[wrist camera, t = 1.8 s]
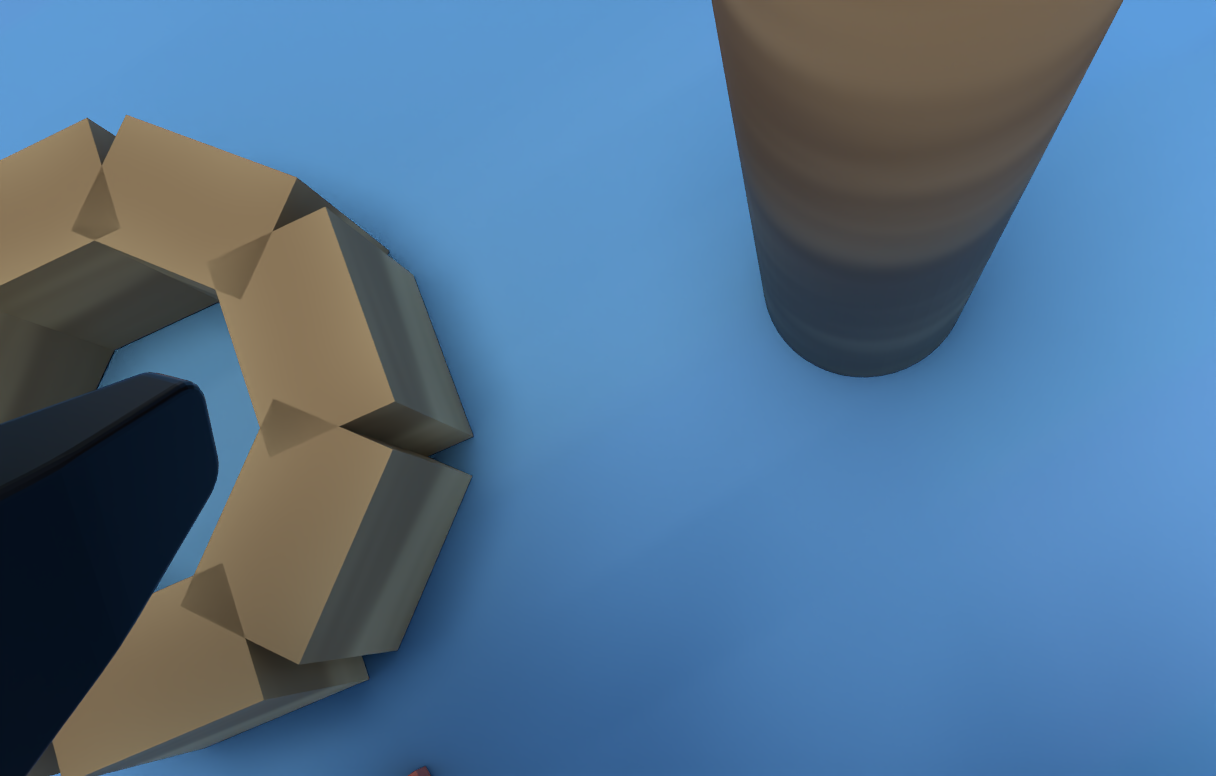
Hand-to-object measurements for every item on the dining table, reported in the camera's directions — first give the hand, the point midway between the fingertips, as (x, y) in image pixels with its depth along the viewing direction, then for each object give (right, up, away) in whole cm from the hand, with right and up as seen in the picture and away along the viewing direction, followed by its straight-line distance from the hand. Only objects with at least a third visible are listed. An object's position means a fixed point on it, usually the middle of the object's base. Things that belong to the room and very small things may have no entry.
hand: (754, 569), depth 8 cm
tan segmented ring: (-9, 0, +14) cm, 17 cm away
